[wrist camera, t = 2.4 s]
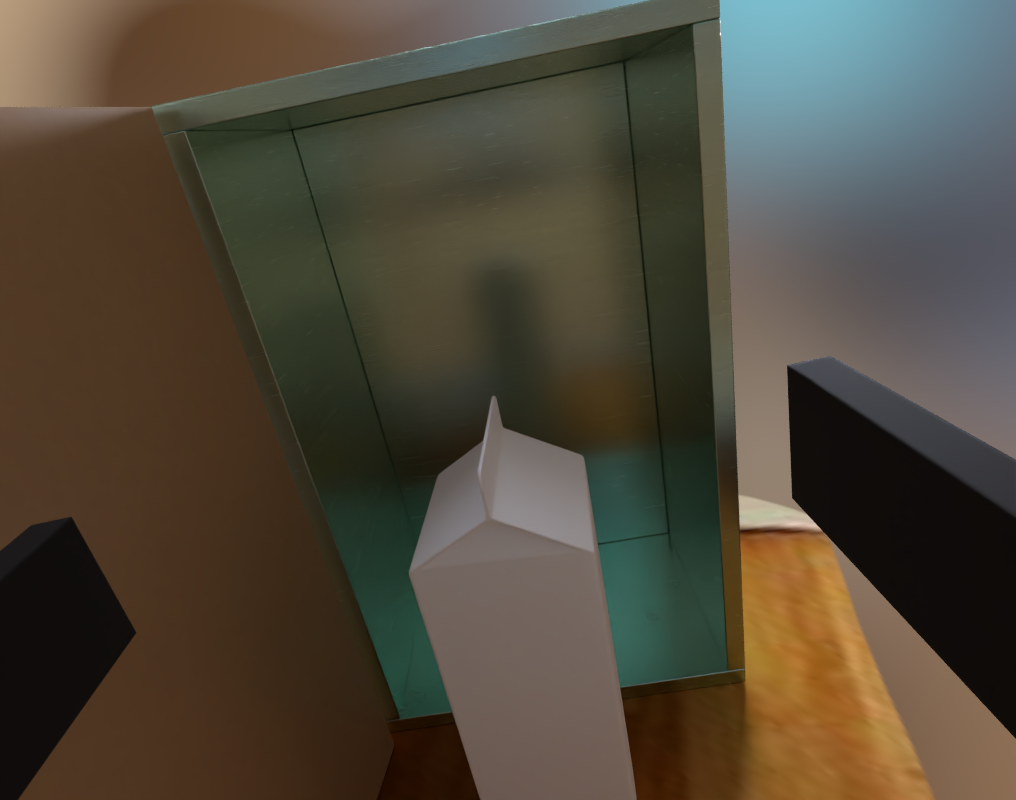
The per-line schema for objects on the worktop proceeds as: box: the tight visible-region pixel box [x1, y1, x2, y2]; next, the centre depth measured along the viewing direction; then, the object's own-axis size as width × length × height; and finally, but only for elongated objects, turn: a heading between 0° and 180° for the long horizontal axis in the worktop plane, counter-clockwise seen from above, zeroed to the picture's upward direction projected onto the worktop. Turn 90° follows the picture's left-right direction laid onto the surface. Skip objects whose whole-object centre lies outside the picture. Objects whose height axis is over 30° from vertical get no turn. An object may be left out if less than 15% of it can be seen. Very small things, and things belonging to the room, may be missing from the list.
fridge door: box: [0, 107, 394, 800], centre depth 20 cm, size 7×21×34 cm, turn 172°
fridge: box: [151, 0, 745, 732], centre depth 35 cm, size 14×21×34 cm, turn 91°
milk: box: [409, 396, 637, 800], centre depth 25 cm, size 6×6×22 cm
